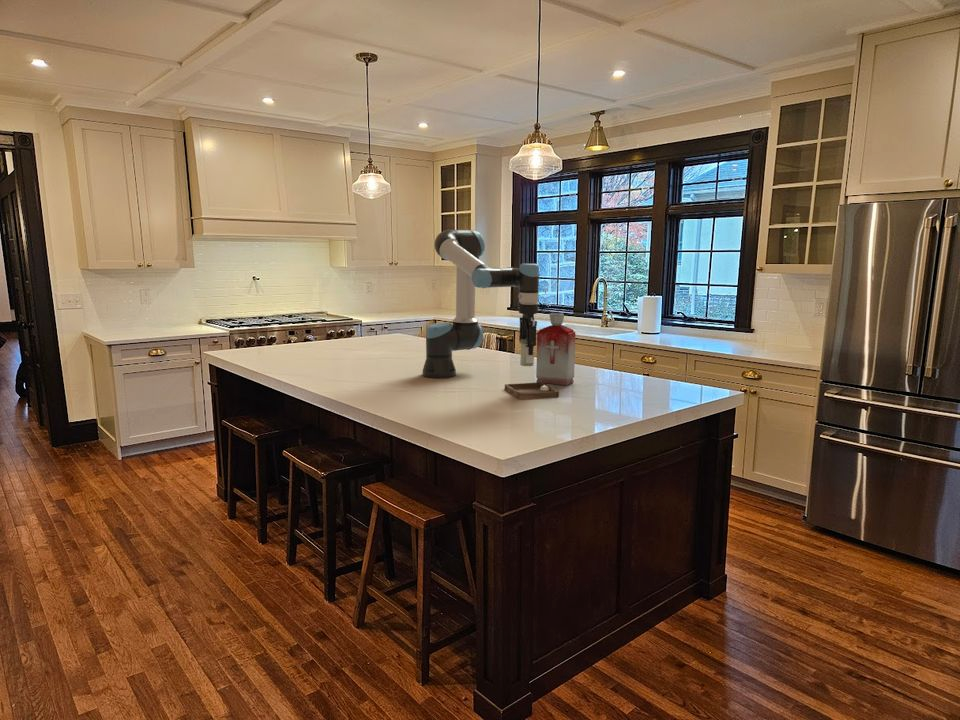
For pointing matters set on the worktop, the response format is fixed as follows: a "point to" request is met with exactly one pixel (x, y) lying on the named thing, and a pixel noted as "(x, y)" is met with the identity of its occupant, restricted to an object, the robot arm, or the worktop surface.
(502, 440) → the worktop surface
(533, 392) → the tray
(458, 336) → the robot arm
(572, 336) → the bottle
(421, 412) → the worktop surface
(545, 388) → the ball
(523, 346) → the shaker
